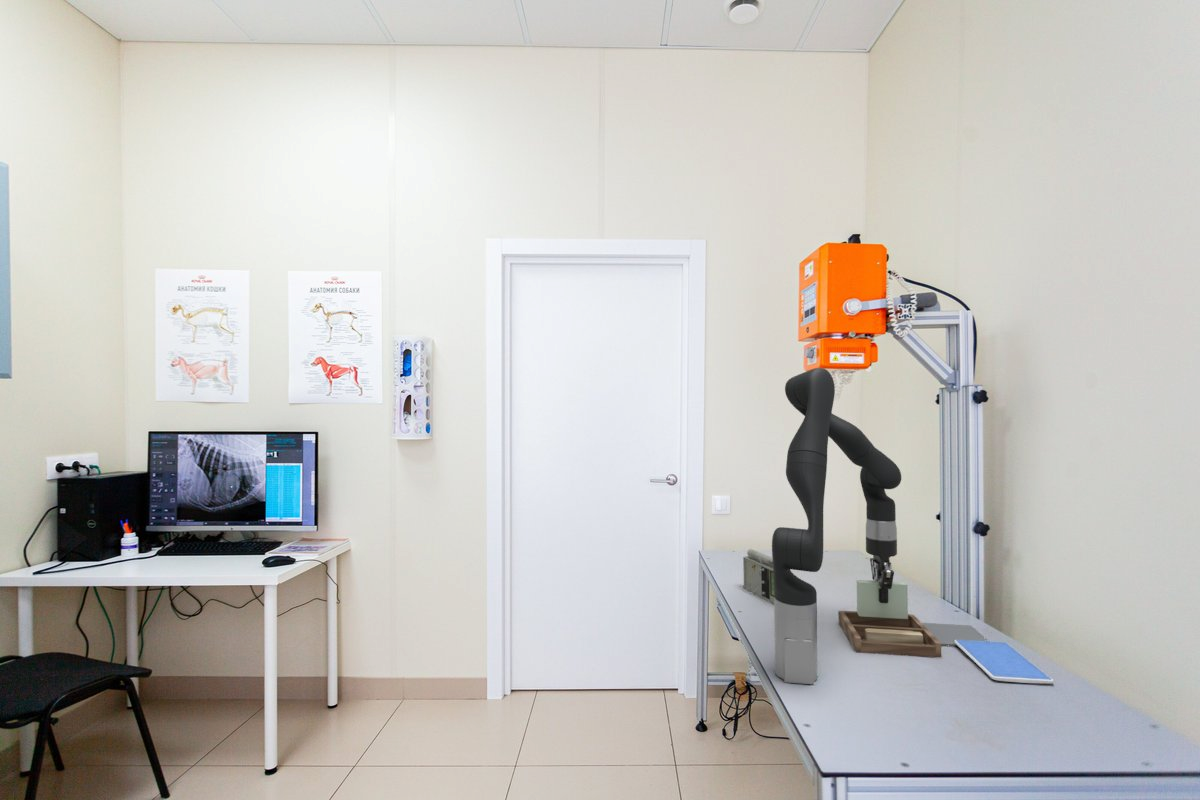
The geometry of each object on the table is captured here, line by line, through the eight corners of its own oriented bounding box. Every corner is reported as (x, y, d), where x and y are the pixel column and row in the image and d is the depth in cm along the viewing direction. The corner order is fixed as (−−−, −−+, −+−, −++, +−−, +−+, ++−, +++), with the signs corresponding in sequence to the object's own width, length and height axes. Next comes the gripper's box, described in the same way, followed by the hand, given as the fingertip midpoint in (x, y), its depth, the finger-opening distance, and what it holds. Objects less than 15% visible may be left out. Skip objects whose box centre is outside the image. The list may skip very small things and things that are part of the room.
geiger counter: (739, 547, 190) (789, 567, 167) (755, 545, 192) (807, 564, 169) (740, 589, 190) (790, 615, 167) (756, 586, 192) (807, 611, 169)
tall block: (907, 619, 150) (907, 584, 151) (859, 616, 153) (858, 582, 153) (904, 615, 153) (904, 582, 153) (857, 613, 155) (856, 579, 155)
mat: (996, 649, 142) (996, 647, 142) (935, 645, 145) (935, 643, 145) (970, 627, 156) (970, 625, 156) (915, 624, 159) (915, 622, 159)
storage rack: (941, 657, 138) (941, 643, 138) (855, 652, 142) (855, 638, 142) (913, 627, 157) (913, 614, 157) (838, 622, 160) (838, 610, 160)
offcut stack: (923, 653, 141) (923, 635, 141) (867, 649, 143) (866, 631, 143) (917, 646, 145) (917, 628, 145) (862, 642, 147) (862, 625, 147)
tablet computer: (952, 643, 145) (952, 638, 145) (1006, 646, 143) (1006, 640, 143) (992, 682, 126) (992, 676, 126) (1056, 686, 124) (1056, 680, 124)
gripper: (904, 542, 146) (905, 610, 145) (888, 531, 159) (889, 593, 159) (873, 541, 147) (874, 609, 147) (859, 530, 161) (860, 591, 160)
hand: (881, 600), depth 153 cm, fingers closed on tall block, 2 cm apart
